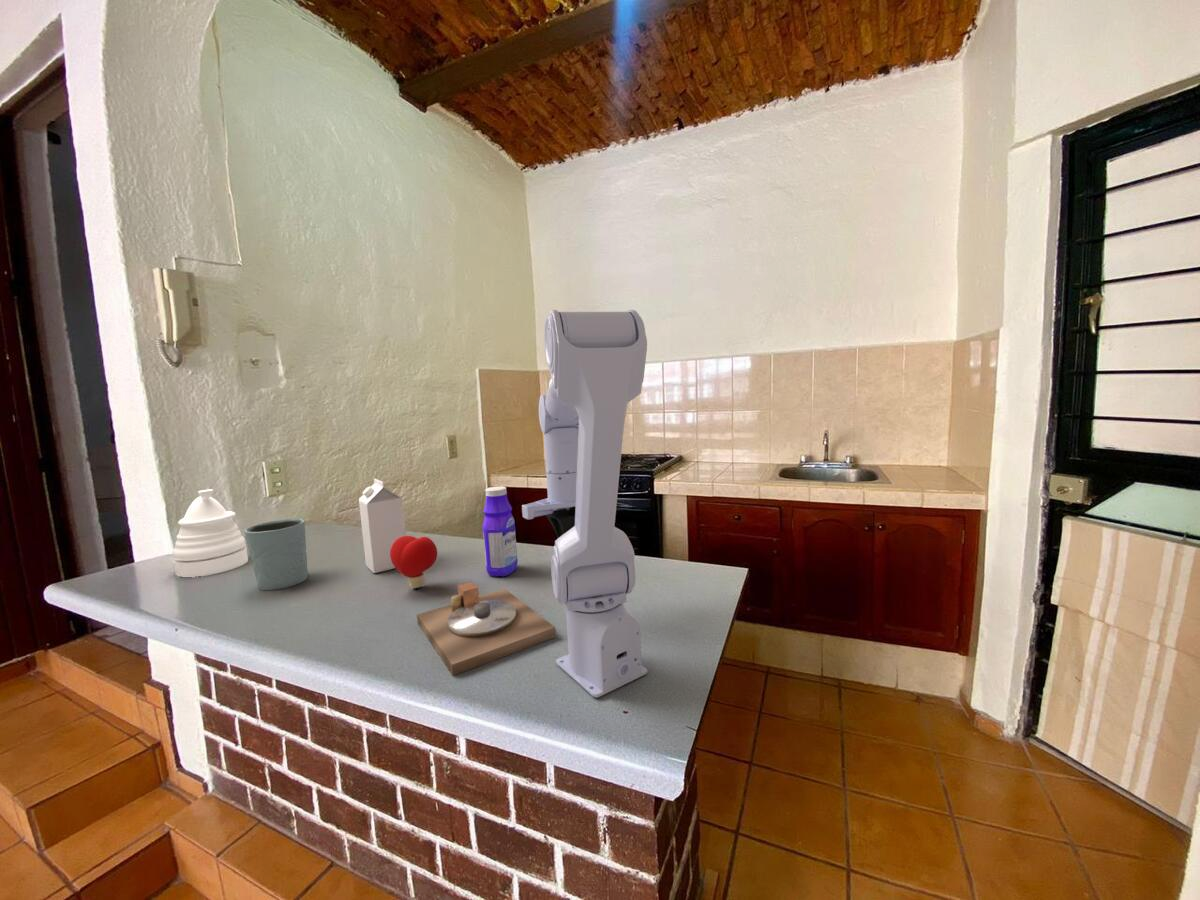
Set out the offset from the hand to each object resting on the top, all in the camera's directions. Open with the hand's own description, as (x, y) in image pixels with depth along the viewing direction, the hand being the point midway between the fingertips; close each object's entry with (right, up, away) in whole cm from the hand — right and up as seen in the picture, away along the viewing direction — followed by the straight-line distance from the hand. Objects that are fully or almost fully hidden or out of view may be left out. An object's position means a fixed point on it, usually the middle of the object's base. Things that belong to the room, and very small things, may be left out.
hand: (569, 554), depth 75 cm
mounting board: (-13, -11, -4) cm, 17 cm away
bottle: (-15, -8, +20) cm, 26 cm away
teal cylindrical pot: (-60, -10, +20) cm, 64 cm away
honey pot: (-84, -10, +32) cm, 90 cm away
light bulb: (-30, -10, +13) cm, 34 cm away
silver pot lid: (-14, -9, -4) cm, 17 cm away
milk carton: (-42, -9, +27) cm, 50 cm away
